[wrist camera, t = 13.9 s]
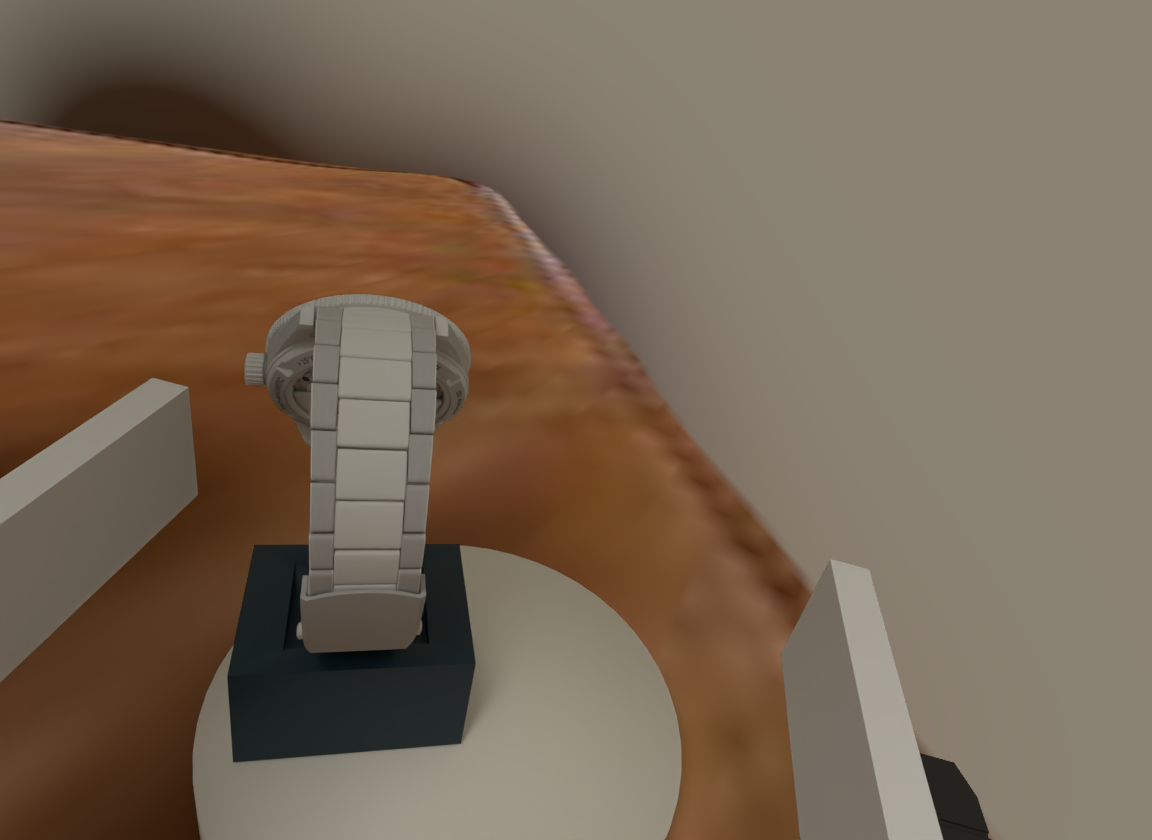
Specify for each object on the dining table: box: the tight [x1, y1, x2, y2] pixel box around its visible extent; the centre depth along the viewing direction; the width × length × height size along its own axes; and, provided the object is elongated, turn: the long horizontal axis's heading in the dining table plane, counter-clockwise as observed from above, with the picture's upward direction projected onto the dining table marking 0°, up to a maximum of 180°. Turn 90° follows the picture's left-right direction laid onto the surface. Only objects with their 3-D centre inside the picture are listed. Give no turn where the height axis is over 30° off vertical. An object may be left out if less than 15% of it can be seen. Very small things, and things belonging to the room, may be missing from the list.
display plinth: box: [193, 545, 682, 840], centre depth 21 cm, size 13×13×2 cm
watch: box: [227, 294, 476, 762], centre depth 17 cm, size 6×8×11 cm
